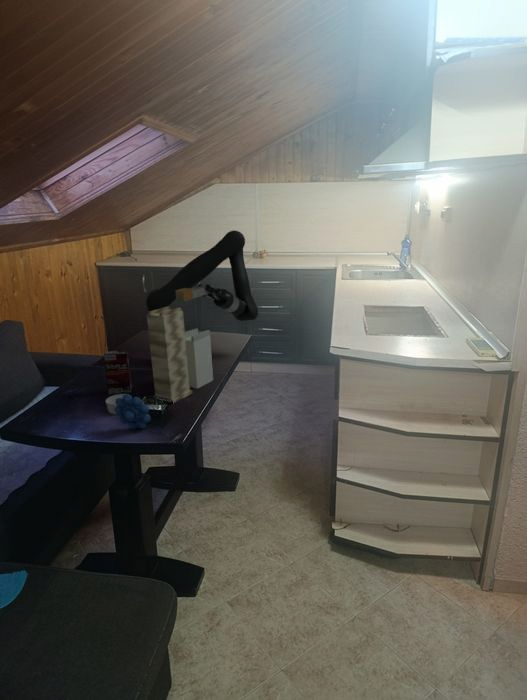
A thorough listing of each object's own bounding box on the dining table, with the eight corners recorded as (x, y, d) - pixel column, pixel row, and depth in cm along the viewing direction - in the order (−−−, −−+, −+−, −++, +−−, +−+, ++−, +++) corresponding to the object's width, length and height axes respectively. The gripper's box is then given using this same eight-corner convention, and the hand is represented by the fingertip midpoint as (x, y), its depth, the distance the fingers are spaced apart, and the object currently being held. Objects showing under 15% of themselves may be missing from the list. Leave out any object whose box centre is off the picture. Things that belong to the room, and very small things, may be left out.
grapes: (111, 434, 147) (106, 399, 144) (120, 425, 154) (115, 391, 150) (147, 435, 146) (143, 400, 142) (154, 425, 152) (150, 391, 149)
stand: (172, 403, 169) (163, 314, 159) (153, 398, 174) (143, 311, 164) (192, 393, 178) (185, 307, 168) (173, 388, 183) (165, 305, 173)
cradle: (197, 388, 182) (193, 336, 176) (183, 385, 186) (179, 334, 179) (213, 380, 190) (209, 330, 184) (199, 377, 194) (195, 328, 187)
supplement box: (108, 394, 179) (102, 355, 174) (109, 390, 184) (104, 351, 179) (131, 392, 181) (126, 353, 176) (132, 387, 185) (127, 349, 180)
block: (184, 301, 171) (183, 291, 169) (176, 300, 172) (175, 290, 171) (214, 292, 185) (213, 282, 184) (206, 291, 187) (205, 282, 186)
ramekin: (122, 416, 160) (121, 405, 159) (101, 413, 163) (99, 402, 162) (138, 406, 168) (136, 395, 167) (117, 403, 171) (116, 392, 170)
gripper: (238, 310, 192) (214, 297, 177) (211, 308, 199) (186, 294, 185) (242, 293, 193) (219, 278, 178) (215, 291, 200) (191, 276, 186)
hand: (202, 286), depth 182 cm, fingers closed on block, 3 cm apart
